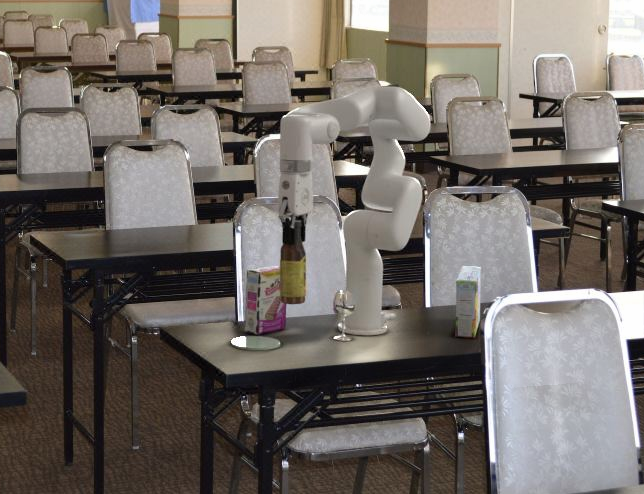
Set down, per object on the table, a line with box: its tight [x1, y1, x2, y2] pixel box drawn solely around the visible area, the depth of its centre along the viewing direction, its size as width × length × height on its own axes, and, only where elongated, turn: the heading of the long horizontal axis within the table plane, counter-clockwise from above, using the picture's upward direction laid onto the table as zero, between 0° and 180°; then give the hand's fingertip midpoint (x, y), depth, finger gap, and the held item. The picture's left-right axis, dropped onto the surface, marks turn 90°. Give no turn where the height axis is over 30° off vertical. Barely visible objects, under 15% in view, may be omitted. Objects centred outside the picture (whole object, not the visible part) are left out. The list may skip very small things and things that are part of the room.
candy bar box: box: [244, 265, 287, 336], centre depth 320 cm, size 11×5×16 cm, turn 135°
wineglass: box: [332, 289, 355, 342], centre depth 313 cm, size 6×6×12 cm
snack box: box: [454, 265, 482, 339], centre depth 326 cm, size 21×6×15 cm, turn 164°
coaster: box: [231, 335, 281, 351], centre depth 306 cm, size 12×12×1 cm
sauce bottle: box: [279, 219, 307, 305], centre depth 296 cm, size 7×6×20 cm
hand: (293, 242), depth 295 cm, fingers closed on sauce bottle, 4 cm apart
